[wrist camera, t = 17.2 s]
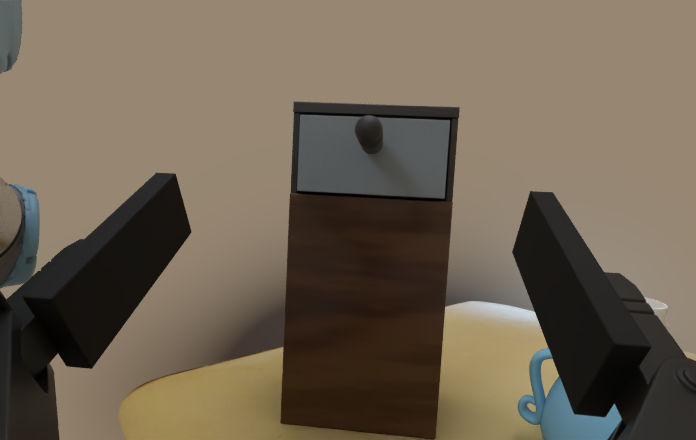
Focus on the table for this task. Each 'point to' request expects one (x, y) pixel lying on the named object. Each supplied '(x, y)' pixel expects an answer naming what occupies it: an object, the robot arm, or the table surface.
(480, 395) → the table surface
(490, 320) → the table surface
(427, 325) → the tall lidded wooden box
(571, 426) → the teapot
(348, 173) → the top drawer
